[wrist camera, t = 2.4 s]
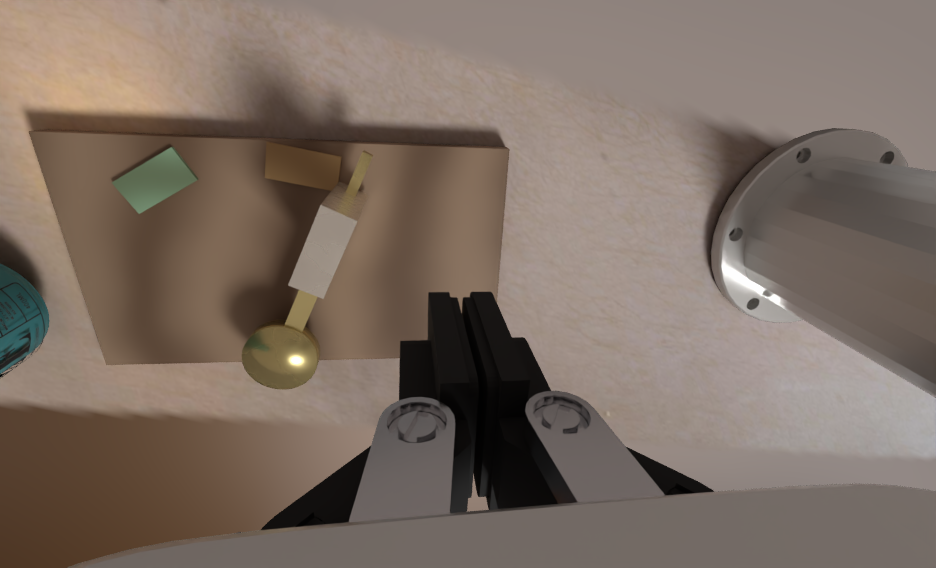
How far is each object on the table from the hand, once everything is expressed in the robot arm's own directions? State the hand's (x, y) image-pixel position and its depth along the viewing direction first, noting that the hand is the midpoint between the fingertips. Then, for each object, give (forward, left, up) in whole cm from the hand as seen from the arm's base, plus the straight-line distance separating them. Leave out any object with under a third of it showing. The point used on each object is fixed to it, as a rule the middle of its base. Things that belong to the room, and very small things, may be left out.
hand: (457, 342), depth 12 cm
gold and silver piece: (+6, +3, -13) cm, 15 cm away
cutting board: (+8, +3, -15) cm, 17 cm away
